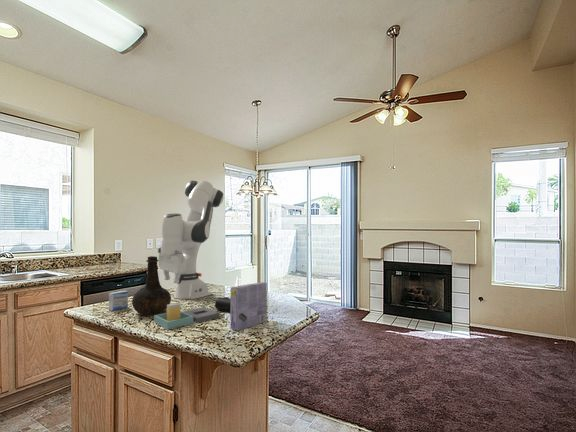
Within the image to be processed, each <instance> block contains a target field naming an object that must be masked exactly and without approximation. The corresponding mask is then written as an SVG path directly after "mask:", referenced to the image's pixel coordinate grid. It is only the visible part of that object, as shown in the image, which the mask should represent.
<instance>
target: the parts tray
mask: <svg viewBox="0 0 576 432" xmlns="http://www.w3.org/2000/svg"><path fill="white" fill-rule="evenodd" d="M153 323H155V324H156V325H158V326H159V327H162V328H164V329H165V330H173V329H176V328H180V327H184V326H188V325H192V324H194V322H193V316H191V315H189V314H186V313H184V312H183V311H181V310H180V319H177V320H173V321H167V312H165V313H159V314H155V315H153Z"/></svg>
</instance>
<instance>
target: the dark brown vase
mask: <svg viewBox="0 0 576 432" xmlns="http://www.w3.org/2000/svg"><path fill="white" fill-rule="evenodd" d="M146 258H147V260H145V262H147V271H146V272H147V273H146V279H145V280H146V282H145V286H144V287H142V288H140V289H139V290H137V291H136V292H135V294H133V296H132V299H131V304H132V308H133V309H134V310H135V311H136V313H138V314H140V315H141V316H154V315H159V314H163V312H165V311H167V305H168V304H171V302H172V296H171V292H170V291H168V289H166V288H164V287H163V286H162V285H161V282H160V279H159V278H160V277H159V270H158V263H159V259H158V256H155V255H151V256H147V257H146Z"/></svg>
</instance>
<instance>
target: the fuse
mask: <svg viewBox="0 0 576 432" xmlns="http://www.w3.org/2000/svg"><path fill="white" fill-rule="evenodd" d="M180 311H181V303H179V302H175V303H170V304H168V305H167V309H166V313H167V321H173V320H177V319H180Z"/></svg>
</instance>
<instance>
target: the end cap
mask: <svg viewBox="0 0 576 432" xmlns="http://www.w3.org/2000/svg"><path fill="white" fill-rule="evenodd" d="M214 306H215V307H214V308H215V309H216V310H217V311H220V312H221V311H222V312H229V313H231V298H230V297H228V296H224V297H217V298H216V300H215V303H214Z"/></svg>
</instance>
